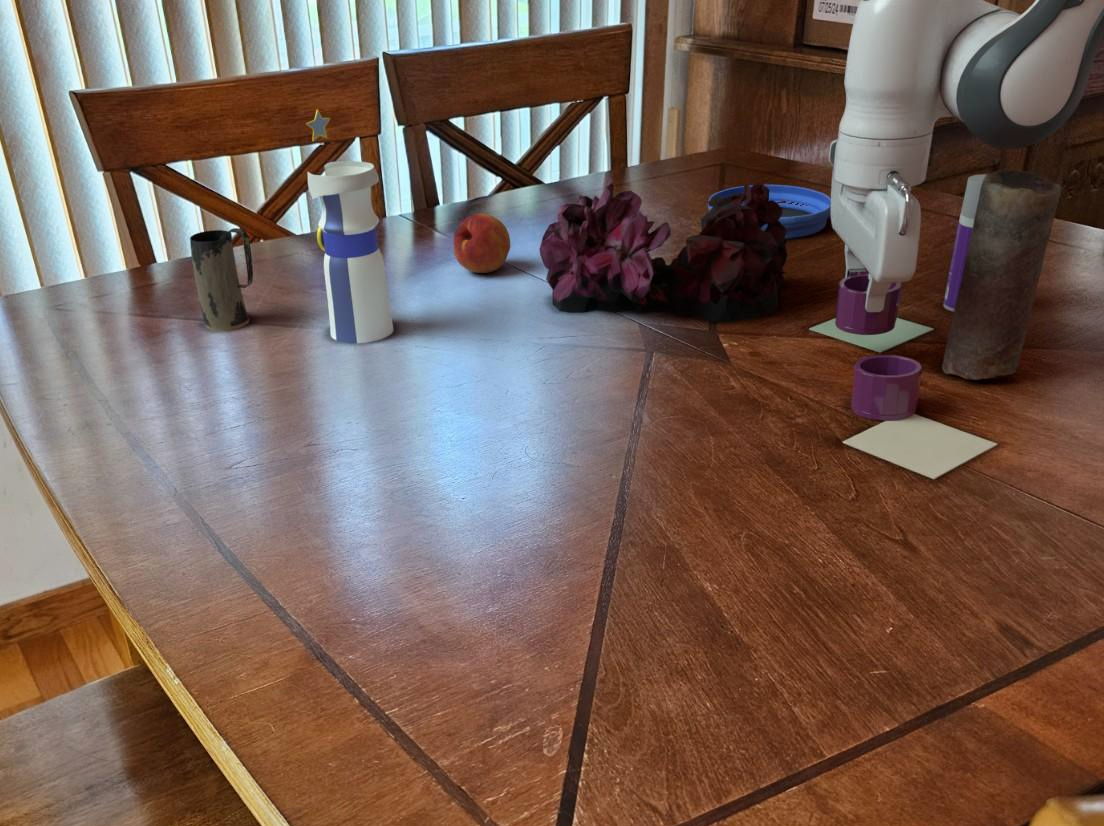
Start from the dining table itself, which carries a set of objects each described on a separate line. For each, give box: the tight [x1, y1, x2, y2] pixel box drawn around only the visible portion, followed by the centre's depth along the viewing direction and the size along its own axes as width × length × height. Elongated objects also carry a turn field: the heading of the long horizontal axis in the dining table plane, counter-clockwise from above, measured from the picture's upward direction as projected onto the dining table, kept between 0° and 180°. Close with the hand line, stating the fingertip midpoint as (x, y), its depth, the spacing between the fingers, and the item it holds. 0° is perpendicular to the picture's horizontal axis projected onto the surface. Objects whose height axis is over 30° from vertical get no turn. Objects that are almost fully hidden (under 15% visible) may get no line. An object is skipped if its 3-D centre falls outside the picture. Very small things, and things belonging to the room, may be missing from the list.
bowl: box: [707, 184, 831, 240], centre depth 164 cm, size 18×18×4 cm
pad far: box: [809, 317, 935, 354], centre depth 128 cm, size 10×10×1 cm
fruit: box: [453, 212, 511, 274], centre depth 149 cm, size 8×8×8 cm
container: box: [942, 173, 988, 313], centre depth 128 cm, size 5×5×15 cm
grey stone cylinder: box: [941, 169, 1062, 381], centre depth 111 cm, size 8×7×20 cm
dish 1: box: [834, 273, 902, 335], centre depth 117 cm, size 6×6×4 cm
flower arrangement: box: [539, 173, 788, 323], centre depth 135 cm, size 31×20×15 cm, turn 88°
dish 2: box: [850, 354, 923, 422], centre depth 109 cm, size 6×6×4 cm
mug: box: [189, 227, 254, 332], centre depth 135 cm, size 8×6×12 cm
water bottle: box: [305, 109, 394, 344], centre depth 127 cm, size 8×9×25 cm
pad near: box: [842, 413, 999, 480], centre depth 103 cm, size 10×10×1 cm
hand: (863, 297), depth 117 cm, fingers closed on dish 1, 6 cm apart
